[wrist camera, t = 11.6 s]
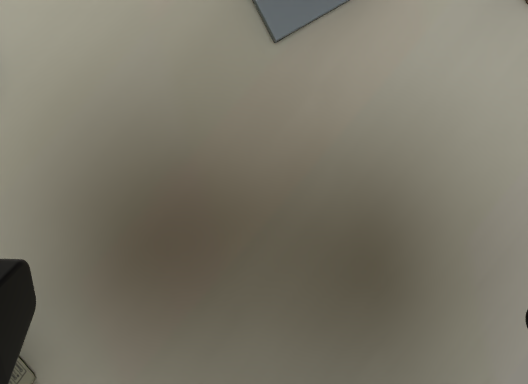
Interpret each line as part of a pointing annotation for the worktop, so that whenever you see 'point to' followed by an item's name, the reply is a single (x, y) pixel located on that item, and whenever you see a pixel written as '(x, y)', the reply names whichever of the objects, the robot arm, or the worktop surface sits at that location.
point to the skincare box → (21, 374)
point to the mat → (292, 14)
